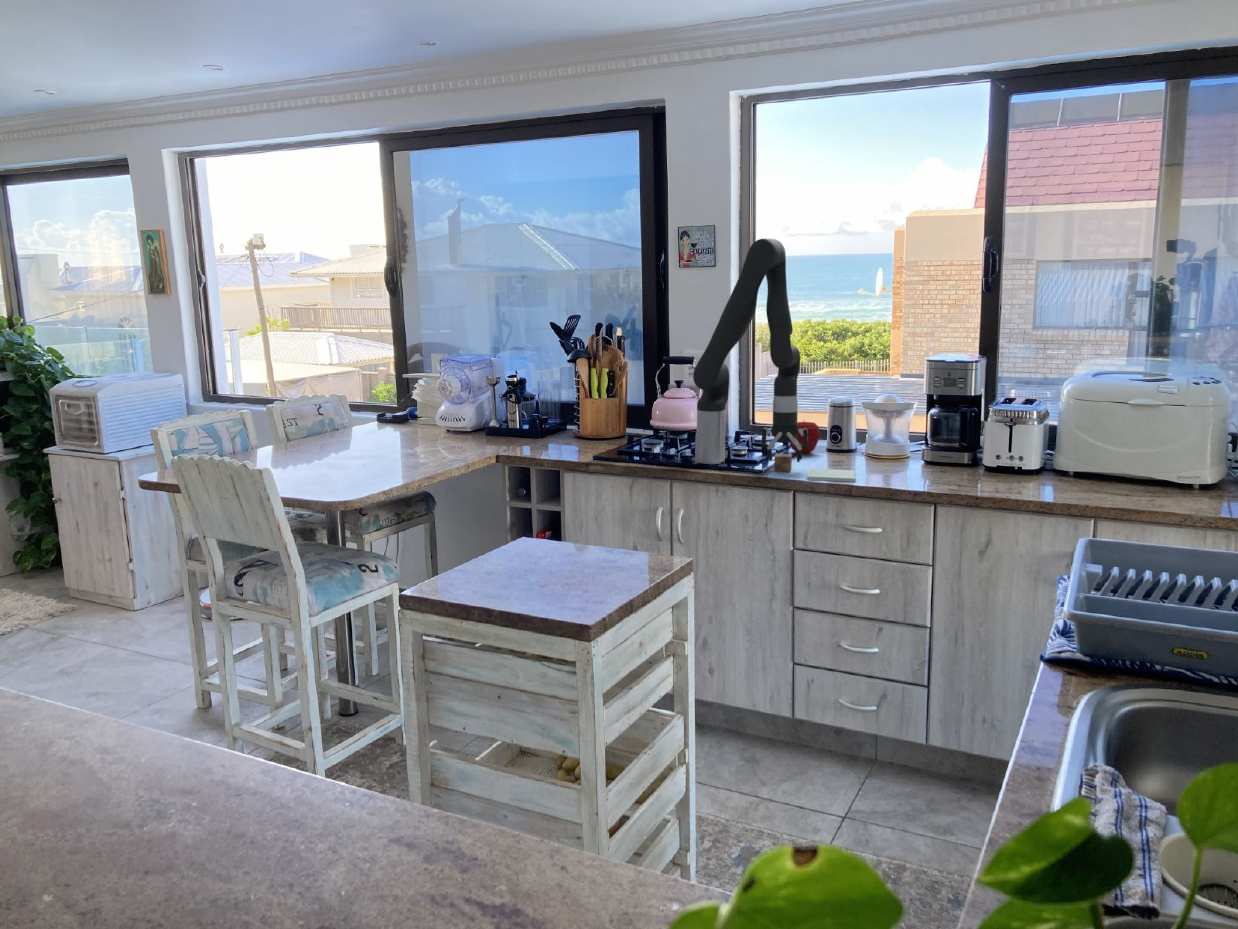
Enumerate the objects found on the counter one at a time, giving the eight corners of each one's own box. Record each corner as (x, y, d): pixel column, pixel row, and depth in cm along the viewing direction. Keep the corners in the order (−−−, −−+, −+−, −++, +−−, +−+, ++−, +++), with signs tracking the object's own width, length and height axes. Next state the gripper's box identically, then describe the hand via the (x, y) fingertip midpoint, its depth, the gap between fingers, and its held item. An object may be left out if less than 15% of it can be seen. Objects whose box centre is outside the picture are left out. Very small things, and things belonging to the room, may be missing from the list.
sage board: (807, 479, 292) (807, 476, 292) (808, 471, 304) (808, 468, 303) (855, 481, 289) (855, 478, 289) (854, 473, 301) (855, 470, 300)
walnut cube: (774, 472, 304) (774, 456, 303) (775, 468, 308) (775, 453, 307) (790, 472, 302) (790, 457, 301) (791, 469, 307) (791, 454, 306)
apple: (817, 450, 338) (818, 417, 335) (820, 456, 327) (822, 422, 325) (785, 450, 339) (786, 417, 336) (787, 456, 328) (788, 421, 326)
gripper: (760, 411, 299) (760, 463, 302) (808, 411, 296) (807, 464, 299) (762, 407, 306) (762, 458, 310) (809, 408, 303) (808, 459, 306)
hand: (784, 461), depth 304 cm, fingers open, 8 cm apart
